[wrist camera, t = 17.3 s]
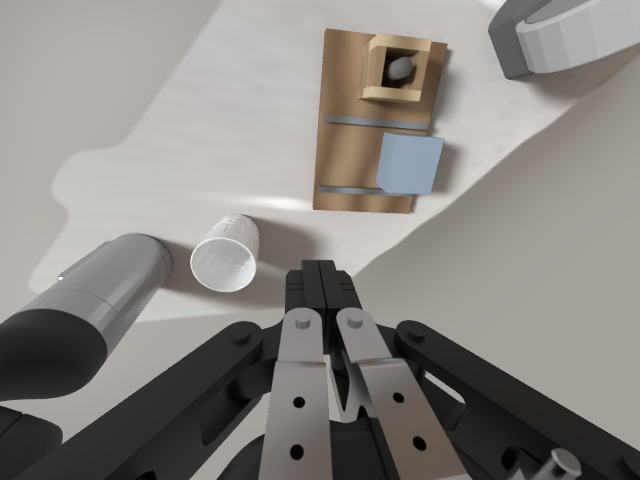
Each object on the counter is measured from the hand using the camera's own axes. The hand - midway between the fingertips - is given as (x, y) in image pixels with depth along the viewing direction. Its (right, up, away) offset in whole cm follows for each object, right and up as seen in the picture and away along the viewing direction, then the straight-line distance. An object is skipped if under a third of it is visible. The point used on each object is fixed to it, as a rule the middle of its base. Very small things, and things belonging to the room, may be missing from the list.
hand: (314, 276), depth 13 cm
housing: (+12, +13, +25) cm, 31 cm away
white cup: (-13, +3, +30) cm, 32 cm away
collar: (+8, +22, +21) cm, 32 cm away
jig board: (+7, +17, +25) cm, 31 cm away
